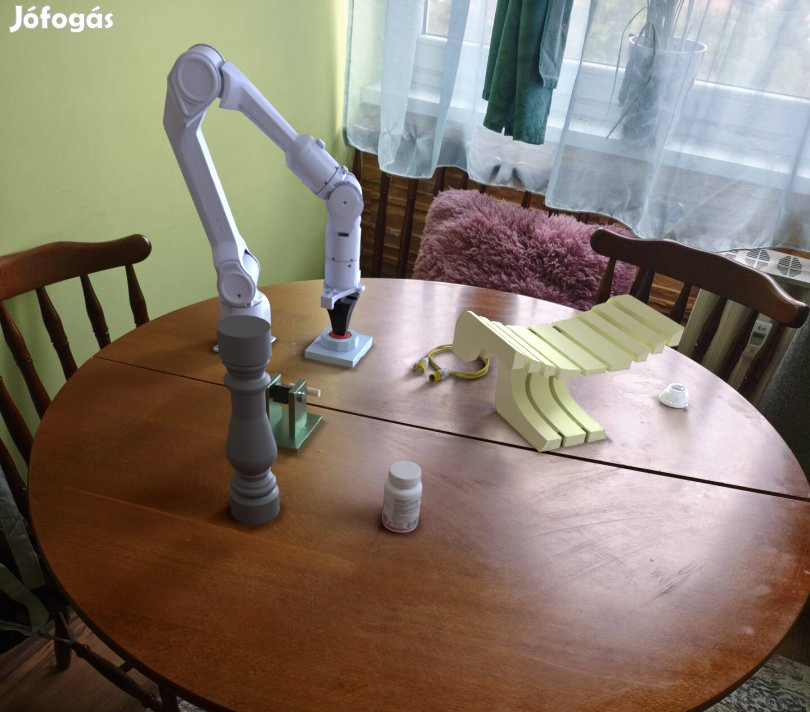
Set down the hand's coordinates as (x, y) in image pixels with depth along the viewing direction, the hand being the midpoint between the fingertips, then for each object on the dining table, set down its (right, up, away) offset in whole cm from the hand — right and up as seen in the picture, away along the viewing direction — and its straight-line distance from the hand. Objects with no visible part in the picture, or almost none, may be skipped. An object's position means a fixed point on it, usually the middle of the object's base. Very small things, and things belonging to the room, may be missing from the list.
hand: (339, 333), depth 124 cm
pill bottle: (+11, -35, -33) cm, 49 cm away
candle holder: (-8, -33, -34) cm, 49 cm away
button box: (0, -3, +2) cm, 3 cm away
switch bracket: (-6, -21, -20) cm, 29 cm away
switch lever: (-5, -16, -20) cm, 26 cm away
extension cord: (+20, -5, +2) cm, 21 cm away
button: (0, -1, +1) cm, 2 cm away
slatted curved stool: (+35, -17, -9) cm, 40 cm away
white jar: (+59, -13, -1) cm, 61 cm away
